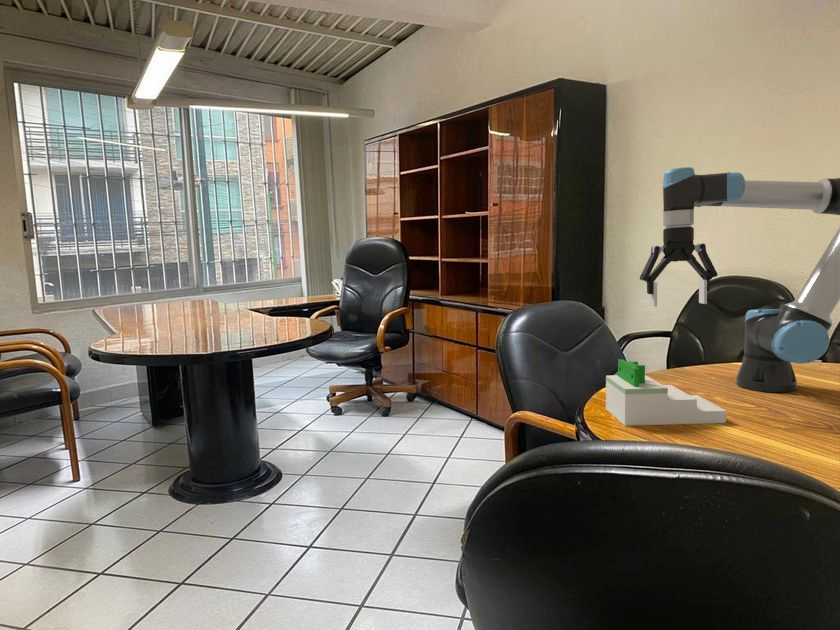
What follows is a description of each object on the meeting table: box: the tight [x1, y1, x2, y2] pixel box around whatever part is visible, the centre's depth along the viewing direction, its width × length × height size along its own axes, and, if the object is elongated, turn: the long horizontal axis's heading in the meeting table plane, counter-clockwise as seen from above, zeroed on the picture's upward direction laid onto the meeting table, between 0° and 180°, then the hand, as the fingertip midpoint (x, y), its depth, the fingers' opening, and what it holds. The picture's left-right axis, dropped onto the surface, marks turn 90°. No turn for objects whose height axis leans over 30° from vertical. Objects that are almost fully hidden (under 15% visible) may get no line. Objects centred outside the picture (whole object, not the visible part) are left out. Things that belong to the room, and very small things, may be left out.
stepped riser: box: [605, 374, 727, 427], centre depth 136 cm, size 24×14×9 cm, turn 89°
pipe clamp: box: [617, 359, 646, 387], centre depth 136 cm, size 11×4×5 cm, turn 0°
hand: (678, 304), depth 149 cm, fingers open, 13 cm apart
